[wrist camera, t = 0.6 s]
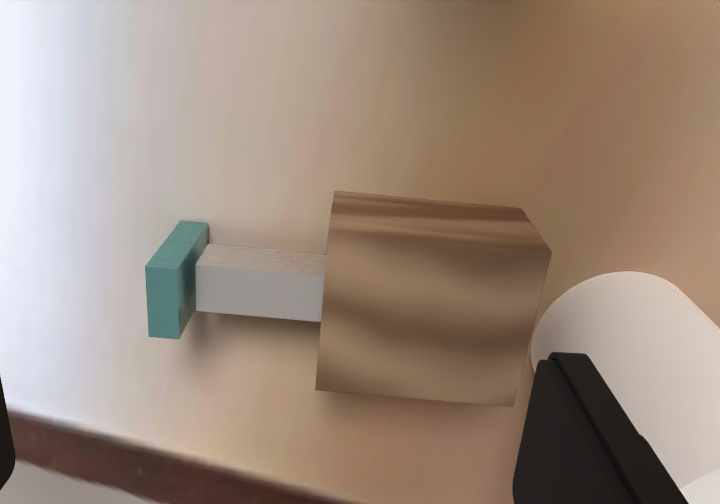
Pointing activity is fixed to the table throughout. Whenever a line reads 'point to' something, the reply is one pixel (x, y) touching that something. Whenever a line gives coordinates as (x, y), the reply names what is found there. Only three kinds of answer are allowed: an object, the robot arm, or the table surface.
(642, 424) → the canister
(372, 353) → the block
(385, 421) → the table surface
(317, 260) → the peg
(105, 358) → the table surface
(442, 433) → the table surface
